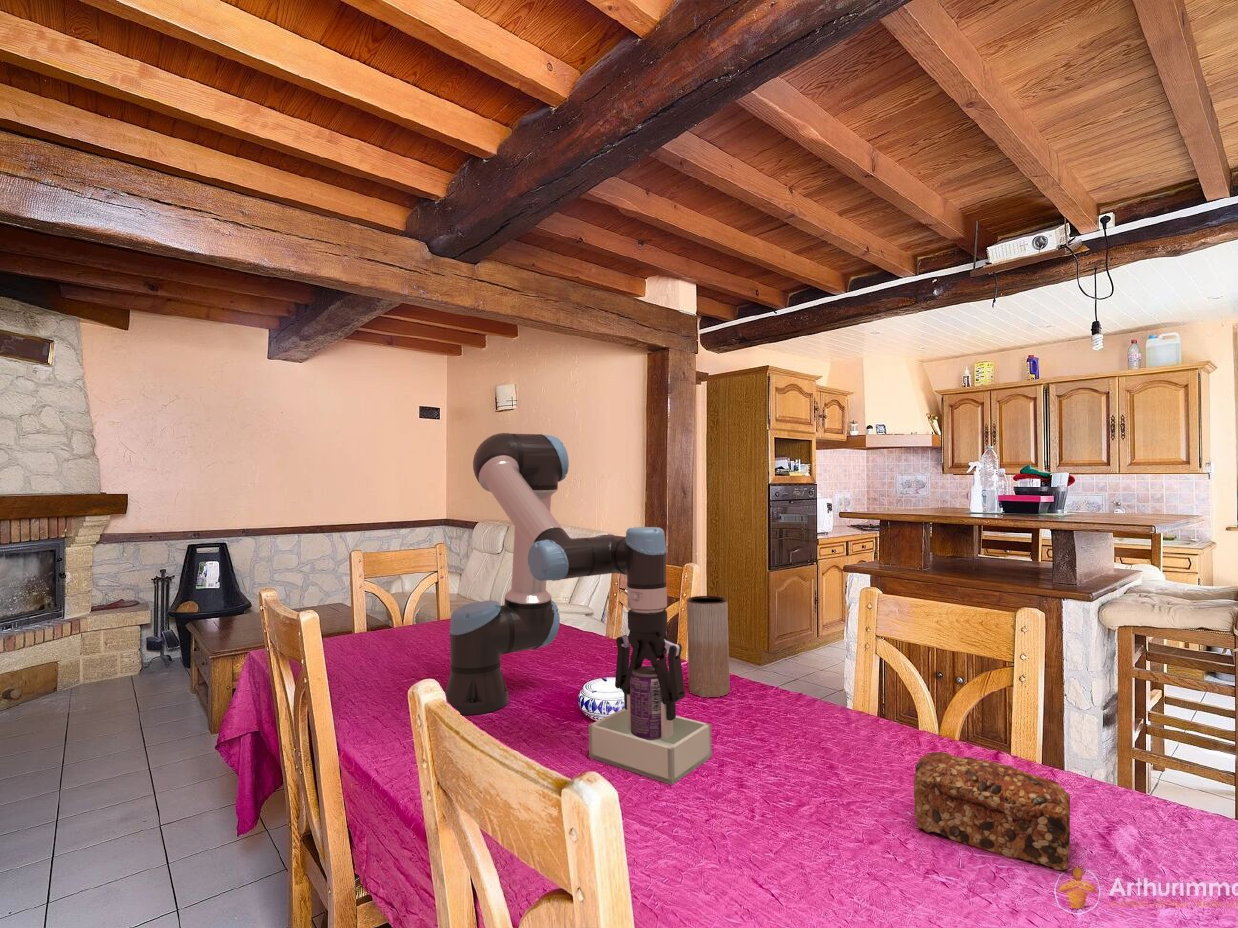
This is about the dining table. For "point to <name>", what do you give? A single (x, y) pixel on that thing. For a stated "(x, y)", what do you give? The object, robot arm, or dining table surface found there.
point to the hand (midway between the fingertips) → (649, 731)
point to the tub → (651, 747)
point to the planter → (708, 646)
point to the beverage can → (645, 703)
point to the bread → (993, 808)
